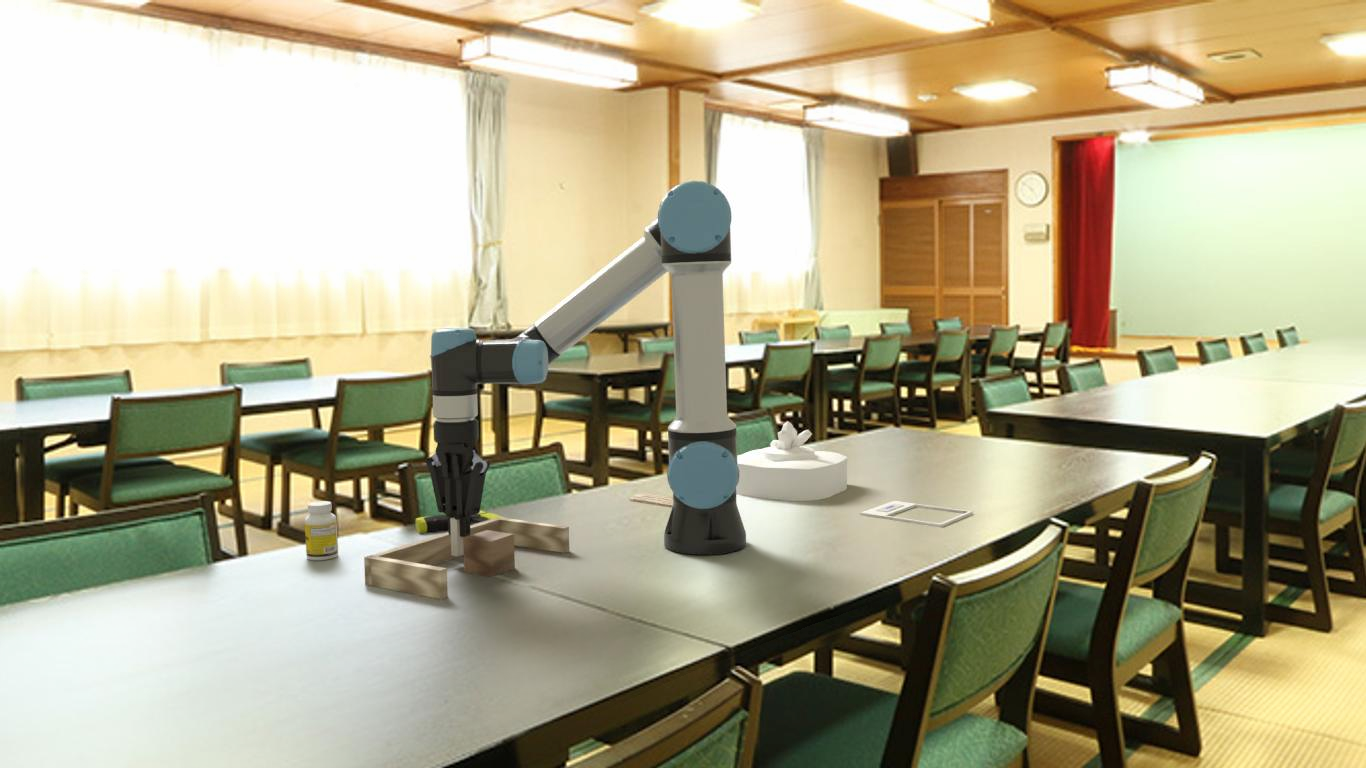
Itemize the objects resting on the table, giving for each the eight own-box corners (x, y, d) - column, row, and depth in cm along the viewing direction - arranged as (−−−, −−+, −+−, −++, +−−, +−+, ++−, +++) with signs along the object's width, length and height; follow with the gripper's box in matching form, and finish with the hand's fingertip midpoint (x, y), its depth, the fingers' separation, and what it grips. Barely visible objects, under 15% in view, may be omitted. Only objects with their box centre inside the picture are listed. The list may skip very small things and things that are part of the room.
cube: (514, 568, 180) (513, 534, 179) (491, 577, 175) (490, 541, 174) (487, 563, 183) (487, 530, 182) (464, 572, 178) (463, 537, 177)
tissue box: (858, 485, 250) (858, 418, 249) (814, 504, 229) (814, 431, 227) (764, 476, 263) (764, 412, 262) (714, 493, 242) (714, 424, 241)
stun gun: (451, 534, 194) (523, 522, 203) (408, 516, 209) (476, 505, 218) (452, 550, 194) (523, 537, 203) (408, 531, 209) (476, 519, 218)
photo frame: (894, 499, 229) (972, 510, 217) (894, 504, 229) (972, 515, 218) (860, 511, 218) (941, 523, 206) (860, 517, 218) (941, 529, 206)
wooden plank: (629, 504, 234) (629, 496, 234) (649, 498, 239) (649, 490, 239) (716, 517, 220) (716, 509, 220) (735, 511, 225) (735, 503, 225)
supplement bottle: (310, 553, 190) (308, 500, 190) (341, 552, 191) (339, 499, 190) (302, 561, 185) (300, 506, 184) (334, 560, 186) (331, 506, 185)
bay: (569, 551, 191) (568, 526, 190) (440, 599, 162) (440, 570, 162) (498, 540, 199) (498, 517, 198) (365, 584, 171) (364, 557, 170)
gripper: (499, 418, 179) (503, 553, 182) (442, 414, 186) (447, 544, 188) (469, 423, 173) (473, 564, 175) (411, 419, 180) (416, 554, 182)
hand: (460, 554), depth 182 cm, fingers closed
